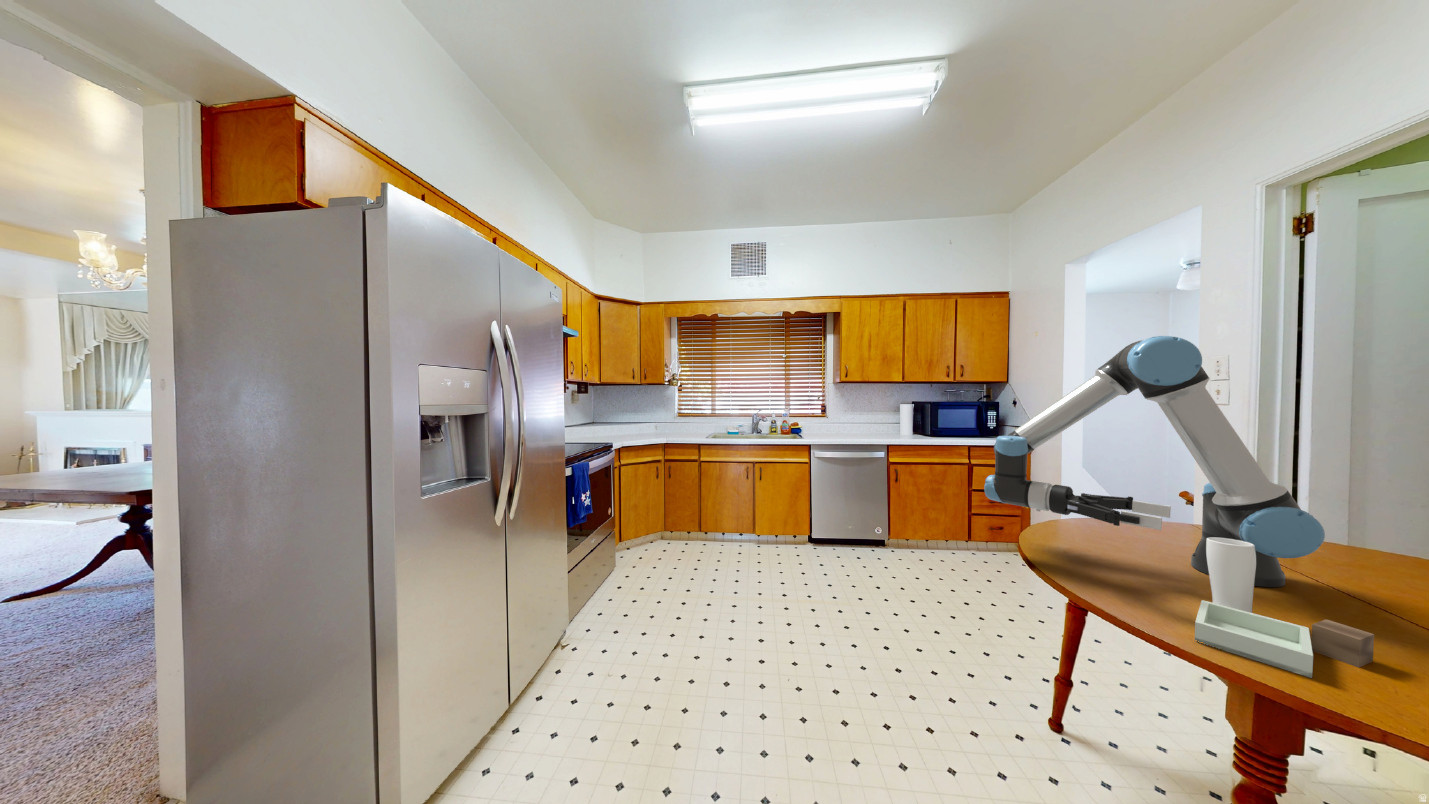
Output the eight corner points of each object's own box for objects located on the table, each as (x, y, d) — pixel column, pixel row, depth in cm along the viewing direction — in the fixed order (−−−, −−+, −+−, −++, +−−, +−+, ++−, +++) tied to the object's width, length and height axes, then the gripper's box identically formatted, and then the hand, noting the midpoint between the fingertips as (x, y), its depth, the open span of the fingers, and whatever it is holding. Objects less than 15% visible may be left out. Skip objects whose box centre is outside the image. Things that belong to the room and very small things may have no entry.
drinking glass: (1265, 623, 85) (1262, 548, 86) (1215, 614, 89) (1213, 542, 90) (1248, 610, 91) (1246, 540, 92) (1202, 602, 95) (1200, 535, 95)
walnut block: (1325, 645, 79) (1326, 619, 79) (1372, 661, 74) (1374, 634, 74) (1310, 650, 78) (1312, 624, 78) (1358, 668, 73) (1360, 639, 73)
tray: (1201, 617, 89) (1201, 600, 89) (1307, 647, 78) (1308, 627, 78) (1194, 641, 81) (1195, 621, 81) (1312, 678, 71) (1313, 656, 70)
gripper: (1064, 503, 122) (1172, 522, 105) (1035, 521, 107) (1156, 546, 90) (1065, 477, 122) (1174, 492, 105) (1036, 491, 106) (1158, 512, 90)
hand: (1166, 517), depth 97 cm, fingers open, 13 cm apart
